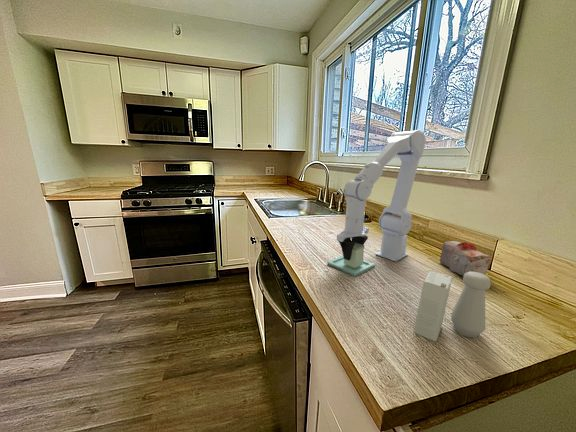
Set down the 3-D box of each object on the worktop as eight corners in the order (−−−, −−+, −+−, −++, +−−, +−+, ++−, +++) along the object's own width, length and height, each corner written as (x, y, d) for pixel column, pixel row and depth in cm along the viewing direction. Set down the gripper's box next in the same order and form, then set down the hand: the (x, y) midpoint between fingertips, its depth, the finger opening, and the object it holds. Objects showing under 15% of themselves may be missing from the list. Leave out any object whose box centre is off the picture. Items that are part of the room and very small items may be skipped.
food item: (491, 281, 70) (498, 250, 68) (466, 282, 70) (472, 251, 67) (456, 262, 84) (461, 235, 81) (434, 262, 83) (439, 236, 81)
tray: (347, 256, 87) (347, 253, 87) (374, 266, 79) (374, 264, 78) (327, 264, 80) (327, 261, 80) (354, 276, 72) (355, 273, 72)
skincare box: (419, 318, 53) (427, 269, 51) (442, 327, 51) (453, 276, 48) (412, 333, 49) (421, 280, 46) (438, 344, 46) (448, 288, 43)
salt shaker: (489, 343, 46) (504, 283, 43) (456, 338, 47) (469, 280, 44) (473, 323, 52) (485, 269, 49) (444, 320, 53) (454, 266, 50)
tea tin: (351, 260, 82) (352, 241, 80) (363, 264, 78) (364, 245, 77) (343, 263, 79) (344, 244, 77) (354, 268, 75) (356, 248, 74)
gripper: (351, 224, 68) (348, 267, 71) (378, 217, 77) (374, 255, 80) (332, 219, 73) (330, 259, 76) (359, 213, 82) (356, 249, 85)
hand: (351, 257), depth 79 cm, fingers closed on tea tin, 4 cm apart
